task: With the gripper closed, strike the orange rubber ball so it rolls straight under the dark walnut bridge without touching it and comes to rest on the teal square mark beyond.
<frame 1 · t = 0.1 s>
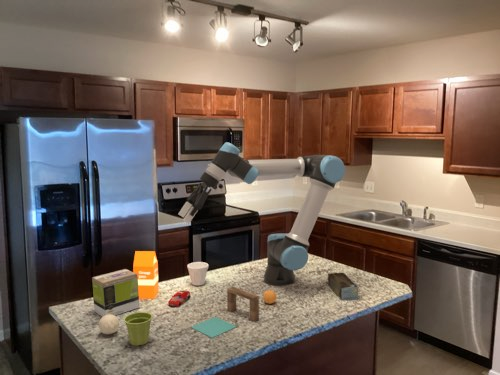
hand: (183, 218, 174), 36 cm above the counter, tool tilted 35°, fingers open, 13 cm apart
tea box: (116, 310, 171), on the counter
bridge: (242, 314, 166), on the counter
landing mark: (213, 327, 155), on the counter
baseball: (109, 334, 151), on the counter
cup: (198, 284, 201), on the counter
ball: (269, 296, 177), on the counter
orange juice: (146, 295, 187), on the counter
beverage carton: (342, 293, 190), on the counter
plant pot: (139, 342, 145), on the counter
race car: (179, 302, 180), on the counter
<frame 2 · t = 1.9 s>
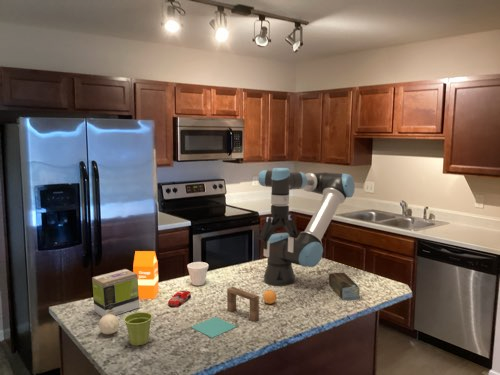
hand: (278, 254, 180), 20 cm above the counter, tool pointing down, fingers open, 13 cm apart
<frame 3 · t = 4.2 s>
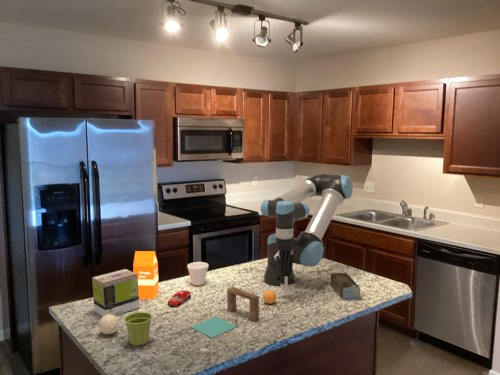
hand: (284, 290, 184), 3 cm above the counter, tool pointing down, fingers closed
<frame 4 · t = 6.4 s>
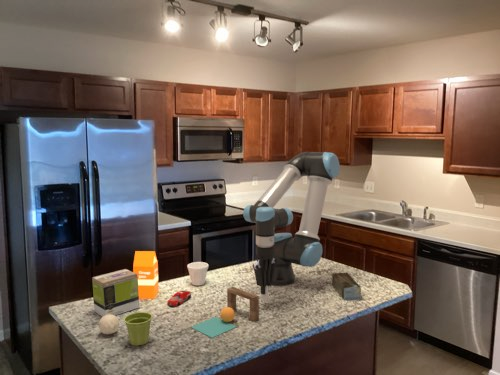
hand: (265, 300, 175), 2 cm above the counter, tool pointing down, fingers closed
ball: (227, 314, 160), on the counter
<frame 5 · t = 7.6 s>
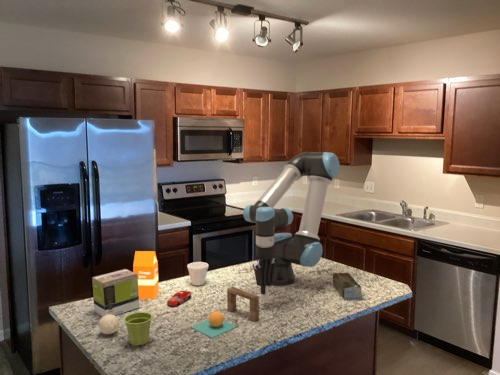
hand: (265, 300, 175), 2 cm above the counter, tool pointing down, fingers closed
ball: (216, 319, 156), on the counter
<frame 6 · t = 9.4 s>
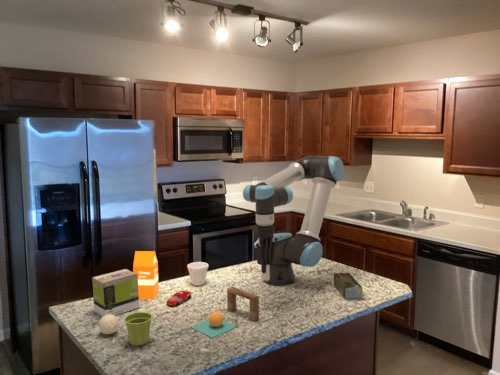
hand: (265, 279, 174), 11 cm above the counter, tool pointing down, fingers closed
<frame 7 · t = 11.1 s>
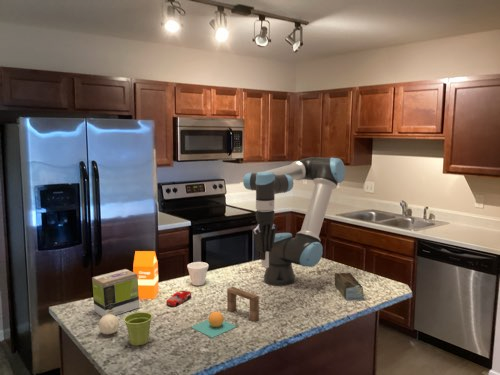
hand: (265, 266, 173), 16 cm above the counter, tool pointing down, fingers closed
at the end: ball 1.0 cm from the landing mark (horizontally); ball never touched bridge; ball at rest at the end (0.0 cm/s) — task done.
